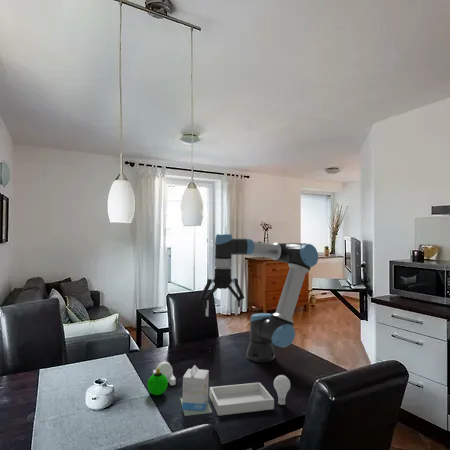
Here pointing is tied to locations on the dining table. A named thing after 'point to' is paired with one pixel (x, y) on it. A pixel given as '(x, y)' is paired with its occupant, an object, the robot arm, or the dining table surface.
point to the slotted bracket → (166, 371)
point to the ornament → (157, 383)
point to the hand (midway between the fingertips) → (221, 315)
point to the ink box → (195, 389)
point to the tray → (240, 398)
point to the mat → (195, 412)
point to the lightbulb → (281, 388)
